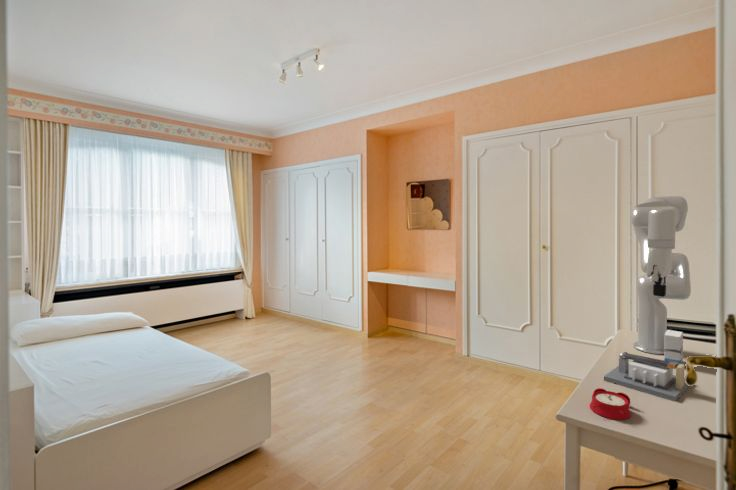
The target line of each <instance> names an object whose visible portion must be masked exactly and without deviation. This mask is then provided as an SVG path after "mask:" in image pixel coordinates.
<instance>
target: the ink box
mask: <svg viewBox="0 0 736 490" xmlns="http://www.w3.org/2000/svg"><path fill="white" fill-rule="evenodd" d="M663 355H664V356H663V357H664V358H663V359H664V361H669V362H675V363H678V365H679V364H683V362H684V332H683V331H677V330H672V329H667V330H666V333H665V354H663Z"/></svg>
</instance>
